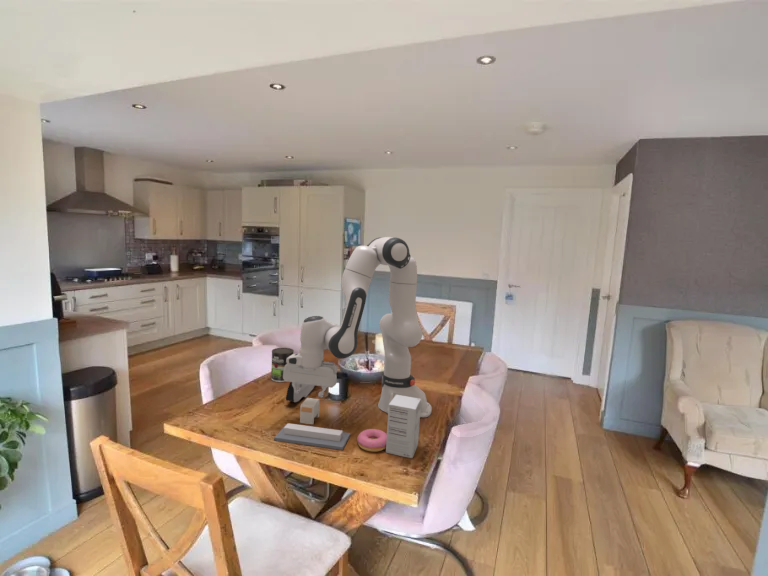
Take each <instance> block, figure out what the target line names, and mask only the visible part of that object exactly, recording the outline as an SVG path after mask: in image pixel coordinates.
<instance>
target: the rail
mask: <svg viewBox="0 0 768 576" xmlns="http://www.w3.org/2000/svg"><path fill="white" fill-rule="evenodd" d="M350 437H351V432H345V431H343V430H342V429H341V430H340V429H333V428H326V427H318V426H312V425H311V426H310V425H306V424H305V425H304V424H298V423H297V424H296V423H288V422H287V424H285V425H284V426H283V428H281V429H280V431H279V432H278V433H277V434H276V435H275V436H274V437H273V441H276V442H283V443H284V442H285V443H291V444H296V445H297V444H299V445H304V446H305V445H306V446H311V447H317V448H325V449H332V450H341V451H344V449H345V447H346V445H347V442H348V441H349V439H350Z"/></svg>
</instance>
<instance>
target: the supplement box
mask: <svg viewBox="0 0 768 576" xmlns="http://www.w3.org/2000/svg"><path fill="white" fill-rule="evenodd" d="M420 411H421V399H419V398H413V397H407V396H402V395H395V397H394V398H393V400H392V401H391V402H390V404H389V406H388V414H387V424H386V425H387V427H386V434H387V441H386V448H385V453H386V454H389V455H395V456H400V457H404V458H408V459H413V457H414V456H415V453H416V450H417V449H418V447H419V446H418V445H419V436H420V420H421V419H420V418H421V417H420Z"/></svg>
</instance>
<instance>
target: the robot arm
mask: <svg viewBox="0 0 768 576" xmlns="http://www.w3.org/2000/svg"><path fill="white" fill-rule="evenodd" d="M380 265H383V266H388V267H389V273H390V277H389V290H388V304H389V305H390V310H391V313H385V314H384V315H383V316H381V319H380V320H379V324H378V325H379V330H380V332H381V337H382V343H383V351H384V362H383V364H384V366H383V372H382V378H381V393H380V397H379V402H378V404H377V407H378V409H379V410H380V411H383V412H385V413H386V414H387V415H388V406H389V404H390V402H391V401H392V400H393V398H394V397H395V395H402V396H407V397H413V398H419V399H421V411H420V418H427V417H430V416H431V414H432V410H433V409H432V404H430V402H428V401H427V395H426V393H425V392H424V391H423V390H422V389H421V388H419V386H417V385H416V378H415V375H412V374H411V366H412V355H411V353H410V350H409V348H413V347H415V346H417V345H419V343H420V342H421V340H422V337H423V330H422V328H421V326H420V323H419V318H418V313H417V304H416V301H417V285H418V267H417V266H418V265H417V262H416V259H415V258H414V257H413V256H411V253H410V248H409V245H408V244H407V242H406V241H405V240H403V239H402V238H399V237H397V236H396V237H392V236H384V237H376V238H374V239H372V240H371V241H370V242H369V243H368V244H367V245H359V246H356V247H355V248H354V249H353V252H352V253H351V255H350V256H349V259H348V261H347V263H346V265H345V267H344V270H343V272H342V276H341V281H340V287H341V290H342V292H343V293H344V296H345V299H346V305H345V310H344V314H343V317H342V320H341V323H340V324H341V325H339V324H337V323H333V322H331V321H329V320H327V319H326V318H325V317H324V316H320V315H312V316H308V317H307V318H304V320H303V321H302V323H301V324H302V325H301V328H300V337H299V338H300V339H299V340H300V349H299V352H297V353H293V355H291V356H289V357H288V358H287V359H286V363H287V364H286V365H285V367H284V371H283V379H284V381H287V383H290V382H292V386H293V388H294V389H295V390H294V393H295V394H299V393H300V391H299V390H300V388H298V387H297V383H302V384H309V385H315V386H318V387H321V389H322V390H321V391H319V392H318V396H317V397H318V398H323V397H324V392H325V391H326V390H327V388H330V389H331V388H334V387H335V386H336V384H337V382H338V381H337V380H338V379H337V376H338V375H337V373H338V369H339V367H338V365H337V364H336V363H335V362H334V361H326V360H324V351H325V350H329V351H330V353H331V354H332V356H334V357H335V358H337V359H347V358H349V357H351V356H352V355H354V353H355V352H356V350H357V347H358V331H359V328H360V324H361V322H362V321H361V320H362V316H363V312H364V310H365V305H366V301H367V295H368V292H369V288H370V286H371V285H370V284H371V282H372V280H373V276H374V274H375V272H376V269H377V267H379V266H380Z"/></svg>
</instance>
